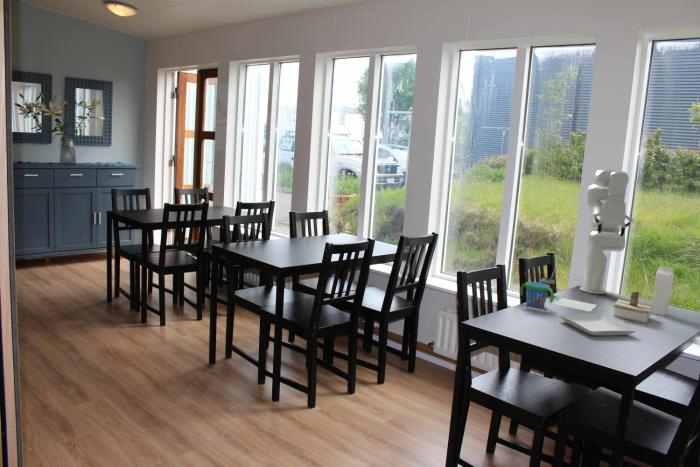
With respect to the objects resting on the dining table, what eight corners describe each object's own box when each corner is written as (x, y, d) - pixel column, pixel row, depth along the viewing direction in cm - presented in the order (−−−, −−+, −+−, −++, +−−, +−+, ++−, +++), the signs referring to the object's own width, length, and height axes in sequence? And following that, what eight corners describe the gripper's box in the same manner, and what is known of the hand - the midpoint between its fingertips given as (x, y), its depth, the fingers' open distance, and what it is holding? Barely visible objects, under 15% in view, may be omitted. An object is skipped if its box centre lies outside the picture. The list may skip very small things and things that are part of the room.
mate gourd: (537, 295, 289) (541, 265, 287) (539, 291, 296) (543, 262, 294) (553, 297, 286) (557, 267, 284) (555, 294, 293) (559, 265, 291)
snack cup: (513, 303, 269) (516, 281, 267) (526, 300, 276) (529, 279, 274) (543, 312, 257) (546, 289, 256) (556, 309, 264) (559, 287, 262)
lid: (618, 301, 270) (620, 286, 269) (652, 307, 262) (654, 292, 261) (613, 307, 258) (615, 291, 257) (648, 314, 251) (651, 298, 249)
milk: (663, 316, 268) (671, 268, 264) (649, 312, 272) (657, 266, 268) (667, 314, 272) (675, 267, 269) (653, 310, 276) (661, 264, 273)
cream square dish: (618, 311, 270) (619, 301, 269) (649, 317, 263) (651, 307, 262) (613, 317, 259) (614, 307, 258) (646, 323, 252) (647, 313, 251)
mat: (561, 299, 284) (561, 297, 284) (596, 306, 276) (596, 305, 276) (553, 305, 271) (553, 304, 271) (590, 312, 262) (590, 311, 262)
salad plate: (590, 339, 225) (591, 330, 224) (557, 321, 245) (558, 313, 245) (636, 338, 231) (637, 330, 230) (600, 321, 251) (601, 313, 250)
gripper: (594, 196, 277) (589, 232, 280) (634, 201, 268) (629, 238, 271) (597, 196, 283) (592, 231, 286) (637, 200, 274) (631, 236, 277)
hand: (610, 234), depth 278 cm, fingers open, 9 cm apart
